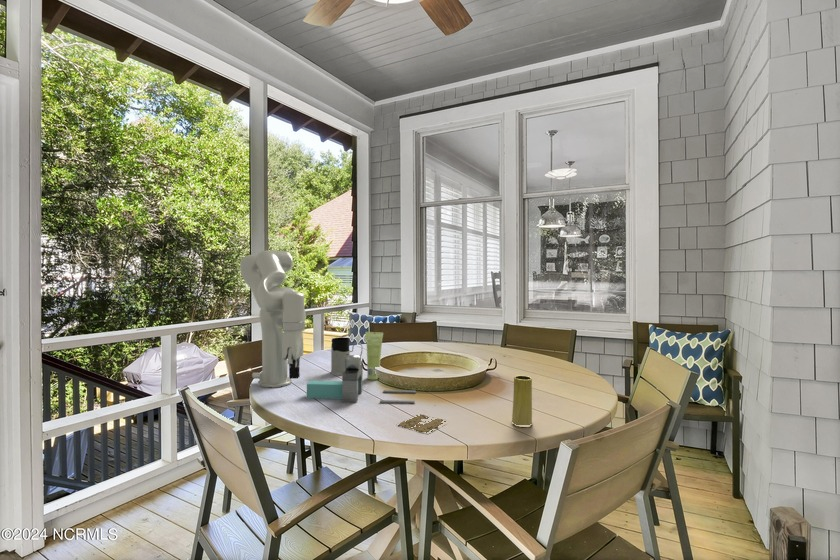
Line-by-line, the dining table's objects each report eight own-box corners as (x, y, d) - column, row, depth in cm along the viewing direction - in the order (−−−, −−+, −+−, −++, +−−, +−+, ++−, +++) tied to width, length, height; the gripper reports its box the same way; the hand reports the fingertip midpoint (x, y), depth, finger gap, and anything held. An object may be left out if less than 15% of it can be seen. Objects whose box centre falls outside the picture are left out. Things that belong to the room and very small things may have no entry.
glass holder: (334, 370, 194) (334, 336, 194) (364, 371, 192) (365, 337, 192) (327, 375, 186) (327, 340, 185) (359, 376, 184) (359, 341, 183)
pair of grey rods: (379, 403, 149) (379, 401, 149) (383, 391, 162) (383, 390, 162) (414, 403, 149) (414, 402, 149) (415, 392, 162) (415, 390, 162)
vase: (509, 420, 134) (510, 375, 133) (528, 420, 134) (529, 374, 134) (515, 428, 127) (516, 380, 127) (535, 427, 128) (536, 380, 127)
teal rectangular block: (306, 398, 154) (306, 384, 154) (310, 394, 158) (310, 380, 158) (354, 398, 154) (354, 384, 153) (356, 395, 158) (356, 381, 158)
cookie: (417, 415, 139) (417, 412, 139) (450, 423, 132) (450, 420, 132) (394, 426, 129) (394, 423, 129) (428, 436, 122) (428, 432, 122)
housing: (342, 402, 149) (342, 359, 149) (349, 391, 162) (349, 351, 162) (356, 402, 149) (356, 359, 149) (362, 391, 162) (362, 351, 162)
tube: (376, 376, 185) (376, 330, 184) (383, 378, 181) (383, 332, 180) (364, 378, 181) (365, 331, 180) (371, 380, 177) (372, 333, 176)
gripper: (289, 324, 163) (290, 373, 163) (275, 329, 148) (276, 383, 148) (309, 324, 162) (310, 373, 163) (297, 329, 147) (298, 383, 148)
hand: (294, 377), depth 155 cm, fingers closed
